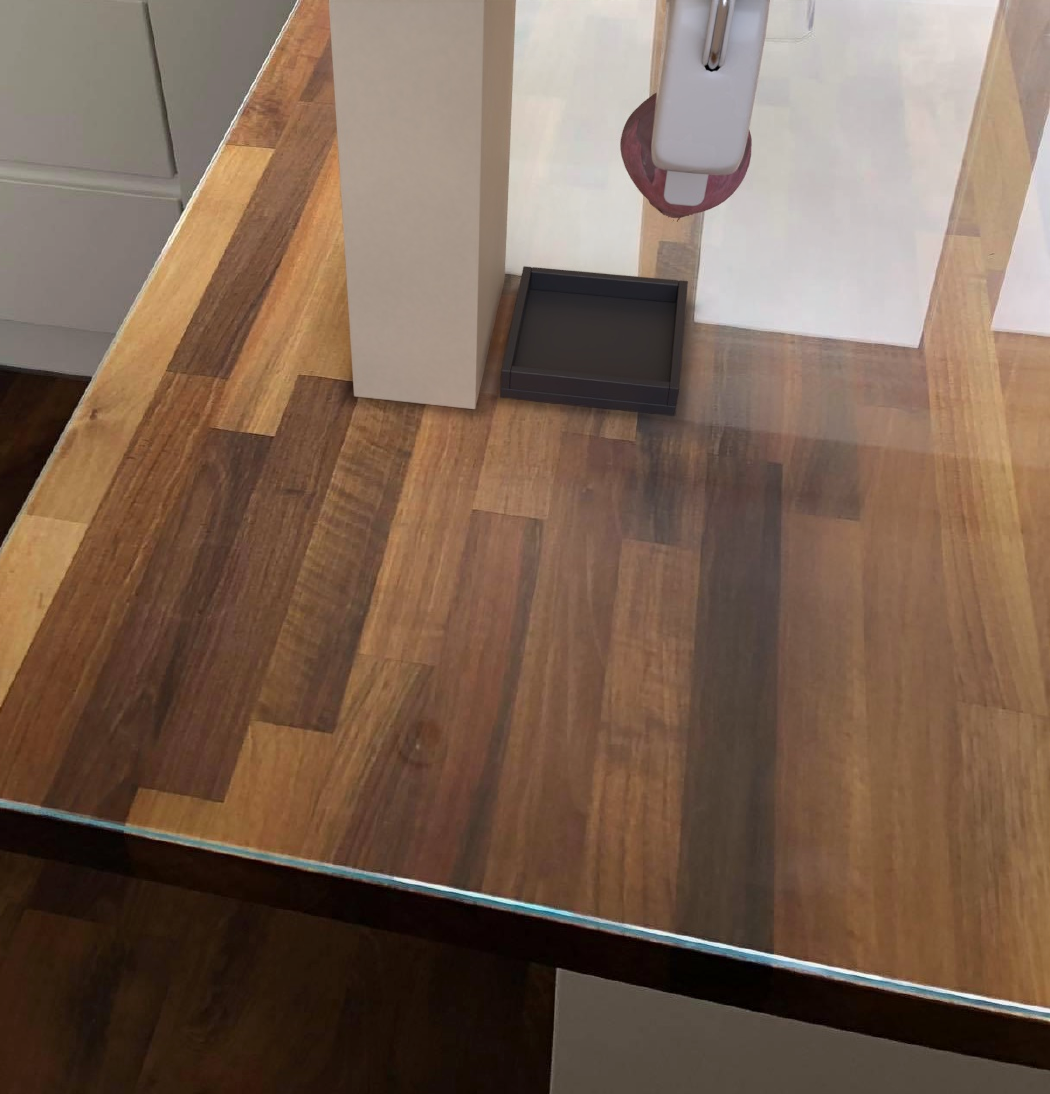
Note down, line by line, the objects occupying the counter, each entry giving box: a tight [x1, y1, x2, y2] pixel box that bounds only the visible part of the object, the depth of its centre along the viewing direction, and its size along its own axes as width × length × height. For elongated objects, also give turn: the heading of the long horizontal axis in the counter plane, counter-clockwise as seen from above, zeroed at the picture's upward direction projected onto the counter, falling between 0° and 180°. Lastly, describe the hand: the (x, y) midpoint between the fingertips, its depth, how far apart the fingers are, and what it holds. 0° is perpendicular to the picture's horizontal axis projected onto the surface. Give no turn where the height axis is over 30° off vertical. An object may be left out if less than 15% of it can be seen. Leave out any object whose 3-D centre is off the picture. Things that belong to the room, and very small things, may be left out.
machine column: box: [328, 0, 517, 410], centre depth 83 cm, size 9×15×30 cm, turn 169°
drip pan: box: [499, 265, 689, 417], centre depth 91 cm, size 11×11×2 cm
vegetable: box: [619, 92, 753, 223], centre depth 64 cm, size 6×6×10 cm
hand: (686, 150), depth 65 cm, fingers closed on vegetable, 6 cm apart
